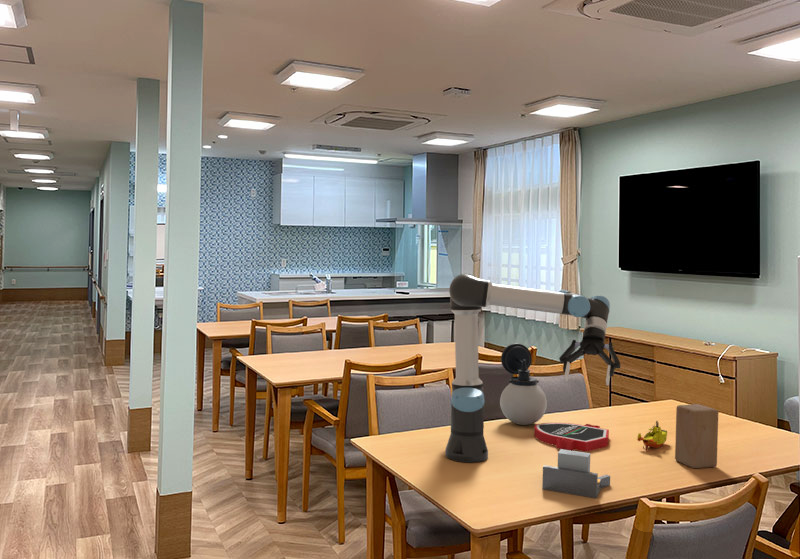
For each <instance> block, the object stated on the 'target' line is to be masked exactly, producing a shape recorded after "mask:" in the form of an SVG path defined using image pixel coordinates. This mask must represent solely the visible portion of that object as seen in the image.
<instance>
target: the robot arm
mask: <svg viewBox="0 0 800 559" xmlns="http://www.w3.org/2000/svg"><path fill="white" fill-rule="evenodd" d="M448 291H449V293H448V294H449V296H450V300H449V302H450V303H449V304H450V311H451V312H452V313H453V314H454V343H455V346H454V348H455V349H454V350H455V352H454V356H455V378H454V379H453V380H452V381H451V397H450V406H451V407H450V435H449V437H448V440H447V444H446V446H445V452H444V454H445V455H444V456H445V457H446V458H447V459H449V460H451V461H454V462H458V463H459V462H461V463H479V462H484V461H486V460H488V458H489V450H488V447H487V443H486V439H485V436H484V428H485V427H484V426H485V425H484V424H485V420H484V419H485V417H484V416H485V403H486V402H485V401H486V400H485V399H486V398H485V394H484V387H483V386H484V383H483V381H482V379H480V376H479V374H480V373H479V370H480V369H479V368H480V367H479V328H478V327H479V325H478V324H479V317H478V316H479V313H480V312H481V311H482V308H487V307H488V306H496V307H502V308H503V307H504V308H511V309H519V310H525V311H528V310H529V311H535V312H541V313H542V312H543V313H551V314H557V315H565V316H572V317H574V318H582V319H585V323H584V327H583V332H582V339H581V341H580V342H579V341H577V340H576V339H572V341H571V344H570V345H569V346H568V347H567V349H566V350H565V351H564V352H563V353H562V354H561V355H560V357H559V363H560V364H561V365H562V364H563V366H562V370H563V373H564V376H563V377H564V382H567V383H568V380H569V375H570V370H571V364H572V363H573V362H575V361H576V360H578V359H579V358H581V357H583V356H585V355H587V356H588V355H590V356H596V355H598V356H599V358H600V359H602V360H603V361H604V363H605V364H606V365H607V369H606V376H605V377H606V378H605V383H606V384H605V386H610V380H611V379H610V378H612V377H614V376H615V375H614V374H615V370H616V369H621V362H620V359H619V357H618V356H617V353H616V351H615V350H614V346H613V342H608V343H605V339H606V333H607V327H608V326H607V325H608V319H609V314H610V307H611V306H610V301H609V299H608V298H607V297H605V296H603V295H596V294H595V295H593V296H591V297H590V298H589V297H587V296H585V295H583V294H578V293H575V292H572V291H570V290H566V289H560V290H559V291H554V290H553V291H551V290H543V289H536V288H528V287H523V286H522V287H520V286H512V285H505V284H498V283H497V284H496V283H492V282H491V280H489V279H487V280H486V279H482V278H478V277H476V276H475V275H473V274H471V273H461V274H459V275H456V276H455V277H454V278H453V279H452V281H451V282H450V285H449V290H448ZM577 348H578V349H577ZM576 349H577V350H576ZM605 349H606V350H607V351H608V352H609V354H610V356H611V358H612V359H611V358H610V357H609V356H608V355H607V353H606V352H605V351H604V350H605ZM575 350H576V351H575Z"/></svg>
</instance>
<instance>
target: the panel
mask: <svg viewBox="0 0 800 559" xmlns="http://www.w3.org/2000/svg"><path fill="white" fill-rule="evenodd" d="M557 467H559V468H566V469H572V470H579V471H585V472H591V452H585V451H579V450H572V451H571V450H565V449H559V451H558V452H557Z"/></svg>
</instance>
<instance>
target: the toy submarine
mask: <svg viewBox="0 0 800 559" xmlns="http://www.w3.org/2000/svg"><path fill="white" fill-rule="evenodd" d="M648 430H649V431H648V432H647V433H645V435H644V436H643V437H642V434H641V432H640V433H638V434H637V438H636V439H637V441H638V442H641V441H642V443H643V446H642V449H643V450H645V452H648V449H649V447H650V448H654V449H658V448H661V447H663V446H664V445H665V443H666V441H667V438H668V431H667V430H665V429H662V428H661V426H659V421H658V420H656V421H655V423H654V425H653V426H652V428H648Z"/></svg>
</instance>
